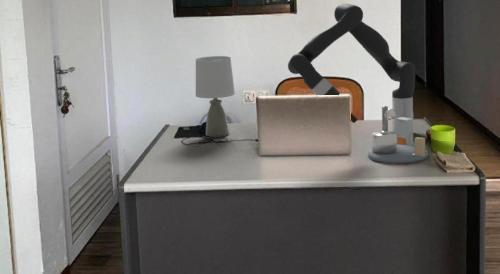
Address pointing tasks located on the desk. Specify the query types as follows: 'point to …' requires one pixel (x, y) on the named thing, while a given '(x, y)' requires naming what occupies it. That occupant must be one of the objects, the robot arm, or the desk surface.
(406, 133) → the skincare box
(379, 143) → the cover
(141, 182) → the desk surface
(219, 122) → the lamp
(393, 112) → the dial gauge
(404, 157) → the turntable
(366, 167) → the desk surface
